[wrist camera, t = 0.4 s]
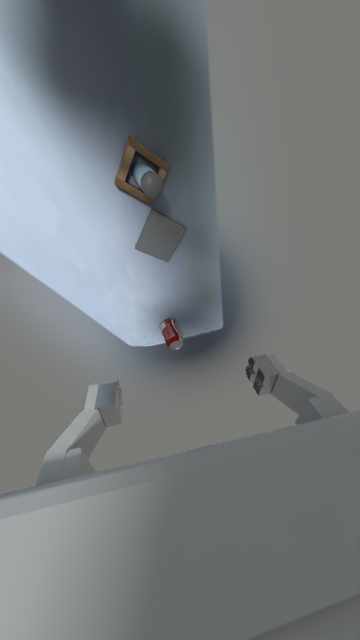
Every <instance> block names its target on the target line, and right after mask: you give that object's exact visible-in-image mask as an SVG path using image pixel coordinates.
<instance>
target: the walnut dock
mask: <svg viewBox="0 0 360 640" xmlns="http://www.w3.org/2000/svg"><path fill="white" fill-rule="evenodd" d="M135 150H136V151H137V152H139V153H140V154H142V155H143V156H144V157H146V158H147V159H149V160H150V161H151V162H153V163H154V164H156V165H157V166H159V167H158V169H157V172H156V173H157V174H158V175H159V176H160V177H161V179H162V181H163V180H164V178H165V175H166V173H167V171H168V168H169V166H170V165H169V164H168V163H167V162H165V161H164V160H163V159H161V158H160V157H159V156H157V155H156V154H155V153H153V152H152V151H151V150H149V149H148V148H146V147H145V146H144V145H142V144H141V143H140V142H138V141H137V140H136V139H134V138H133V137H132V136H129V139H128V142H127V145H126V148H125V151H124V154H123V157H122V160H121V163H120V166H119V170H118V173H117V176H116V179H115V182H114V183H115V185H116V186H118V187H120V188H121V189H123V190H125V191H127V192H129V193H130V194H132V195H134V196H136V197H137V198H139V199H141V200H143V201H145V202H146V203H148V204H150V205H153V203H154V200H155V198H156V197H155V198H150V197H148V196H147V195H146V194H145V193H144V192H143V191H142V190H140V189H139V188H137V187H135V186H133V185H132V184H130V183H128V182H127V181H125V179H126V176H127V173H128V170H129V168H130V165H131V162H132V159H133V156H134V153H135Z"/></svg>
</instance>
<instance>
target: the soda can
mask: <svg viewBox="0 0 360 640" xmlns="http://www.w3.org/2000/svg"><path fill="white" fill-rule="evenodd" d="M160 328H161V331H162V333H163V336H164V339H165V341H166V344H167V346H168V347H169V348H170V349H171V350H178V349H180V348H181V347H182V346H183V337H182V335H181V333H180V331H179V328H178V326H177V324H176V322H175V320H173V319H167V320H165V321H163V322H162V323H161V325H160Z"/></svg>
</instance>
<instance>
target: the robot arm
mask: <svg viewBox="0 0 360 640" xmlns="http://www.w3.org/2000/svg"><path fill="white" fill-rule="evenodd" d="M248 363H249V364H248V366H247V367H246V375H247V377H248V379H249V381H251V382H252V383H253V388H254V389H255V391H256V392H257V394H258V395H265V394H270V393H271V395H273V396H274V397H275V398H277V399H278V400H279V401H281V402H282V403H284V404H285V405H286V406H288V407H289V408H290V409H291V410H293V411H294V412H295V413H297V414H298V415H299V416H298V418H297V420H296V422H295V423H296V425H293V426H289V427H285V428H281V429H276V430H272V431H268V432H264V433H260V434H255V435H251V436H247V437H242V438H238V439H235V440H230V441H226V442H221V443H217V444H213V445H208V446H204V447H200V448H196V449H192V450H187V451H183V452H179V453H175V454H170V455H166V456H162V457H158V458H154V459H149V460H145V461H141V462H136V463H132V464H128V465H124V466H120V467H115V468H111V469H107V470H103V471H98V472H95V469H94V468H93V466H92V465H91V463H90V462H89V460H88V458H89V457H90V455H91V453H92V451H93V450H94V448H95V446H96V445H97V443H98V441H99V439H100V438H101V436H102V434H103V433H104V431H105V429H106V427H108V426H112V425H117V424H121V423H122V410H121V406H122V404H123V402H122V401H123V399H122V391H121V388H119V381H118V380H114V381H107V382H100V383H94V384H90V386H89V389H88V393H87V398H86V403H85V408H84V411H82V412H80V413H79V415H78V416H77V417H76V418H75V419H74V421H73V422H72V423H71V424H70V425H69V427H68V428H67V429H66V430H65V431H64V433H63V434H62V435H61V436H60V437H59V439H58V440H57V441H56V442H55V443H54V444H53V446H52V447H51V448H50V449H49V450H48V452H47V453H46V454H45V458H44V461H43V464H42V467H41V470H40V474H39V477H38V480H37V483H36V486H35V487H31V488H27V489H23V490H18V491H14V492H9V493H5V494H1V495H0V640H360V410H357V411H353V412H349V411H348V410H347V409H346V408H345V407H344V406H343V405H342V404H341V403H340V402H339V401H338V400H337V398H336V397H334V395H333V394H332V393H330V392H328V391H326V390H325V389H322V388H321V387H319V386H317V385H315V384H313V383H311V382H309V381H307V380H305V379H303V378H301V377H299V376H297V375H296V374H294V373H292V372H288V371H287V370H286V369H285V367H284V366H283V365H282V364H281V363H280V361H279V360H278V359H277V358H276V357H275V355H274V354H267V355H260V356H255V357H250V358H249V360H248Z"/></svg>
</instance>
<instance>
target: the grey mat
mask: <svg viewBox="0 0 360 640" xmlns="http://www.w3.org/2000/svg"><path fill="white" fill-rule="evenodd" d="M186 229H187V228H186V227H184V226H182V225H180V224H178V223H177V222H175V221H173V220H171V219H169V218H167V217H166V216H164V215H162V214H160V213H158V212H157V211H155V210H153V209H152V210H151V212H150V215H149V217H148V219H147V221H146V224H145V226H144V228H143V230H142V233H141V235H140V237H139V239H138V242H137V244H136V246H135V249H137V250H140V251H142V252H145V253H148V254H150V255H153V256H155V257H158V258H160V259H163V260H165V261H169V260H170V258H171V256H172V254H173V252H174V251H175V249H176V247H177V245H178V244H179V242H180V240H181V238H182V236H183V235H184V233H185V231H186Z"/></svg>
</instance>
